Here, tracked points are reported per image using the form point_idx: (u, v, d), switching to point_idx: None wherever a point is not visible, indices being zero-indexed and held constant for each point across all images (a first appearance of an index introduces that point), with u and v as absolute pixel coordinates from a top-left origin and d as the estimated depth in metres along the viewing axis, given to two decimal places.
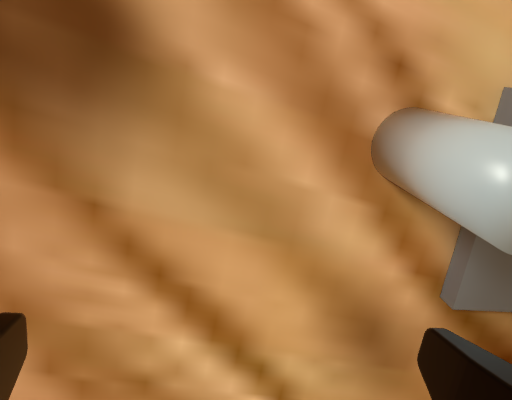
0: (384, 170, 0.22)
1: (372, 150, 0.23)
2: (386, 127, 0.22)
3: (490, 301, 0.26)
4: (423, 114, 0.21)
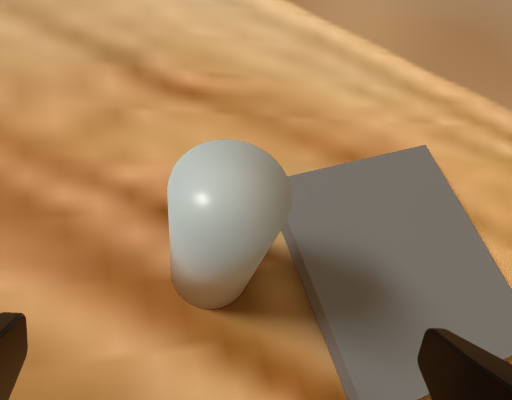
0: (185, 294, 0.21)
1: None
2: None
3: (403, 387, 0.21)
4: None
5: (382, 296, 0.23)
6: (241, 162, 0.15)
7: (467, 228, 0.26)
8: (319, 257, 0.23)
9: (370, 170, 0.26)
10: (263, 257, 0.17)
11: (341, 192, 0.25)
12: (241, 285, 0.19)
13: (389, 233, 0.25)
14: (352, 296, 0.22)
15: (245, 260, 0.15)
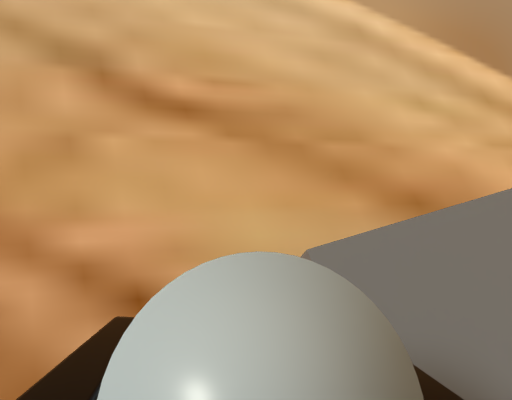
0: None
1: None
2: None
3: None
4: None
5: None
6: (293, 315, 0.06)
7: None
8: None
9: (454, 227, 0.17)
10: None
11: (414, 265, 0.16)
12: None
13: (494, 334, 0.16)
14: None
15: None
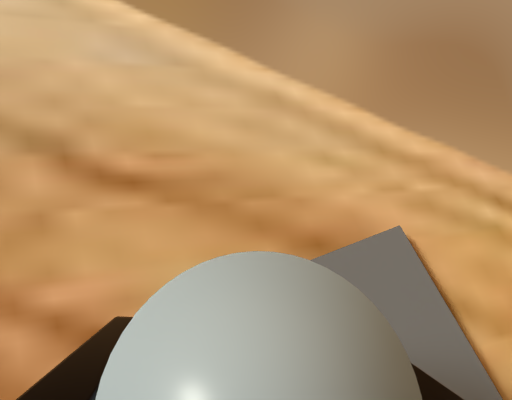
0: None
1: None
2: None
3: None
4: None
5: None
6: (292, 315, 0.06)
7: (451, 328, 0.23)
8: None
9: (338, 266, 0.23)
10: None
11: None
12: None
13: None
14: None
15: None
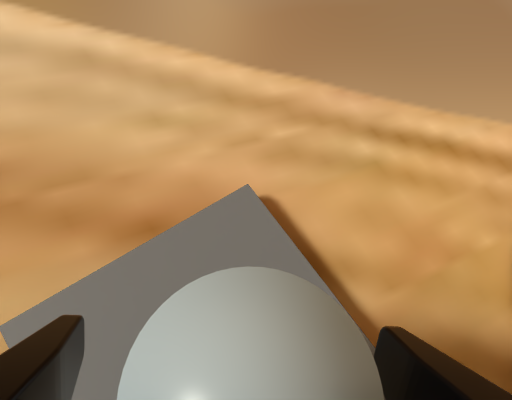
0: None
1: None
2: None
3: None
4: None
5: None
6: (276, 318, 0.07)
7: None
8: None
9: (168, 252, 0.18)
10: None
11: (122, 305, 0.16)
12: None
13: None
14: None
15: None
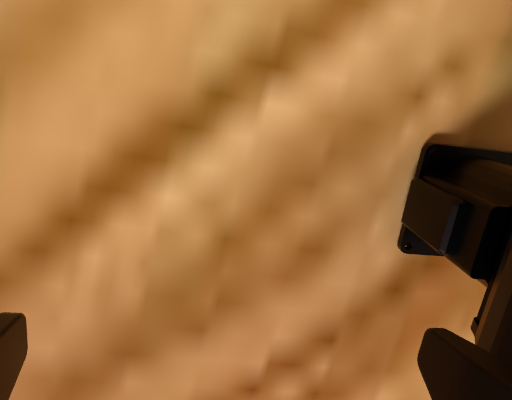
0: None
1: None
2: None
3: None
4: None
5: None
6: None
7: None
8: None
9: None
10: None
11: None
12: None
13: None
14: None
15: None
